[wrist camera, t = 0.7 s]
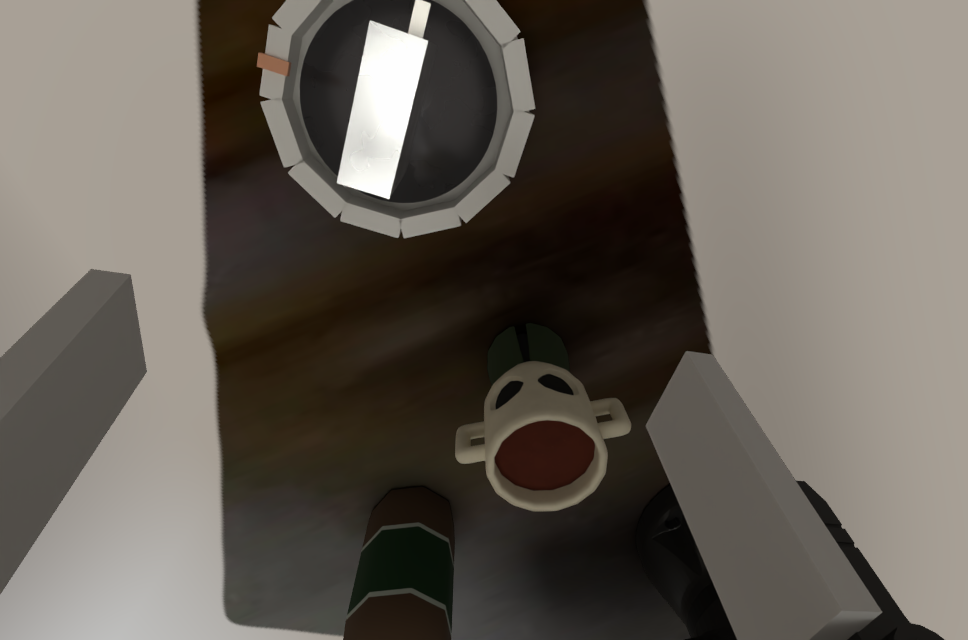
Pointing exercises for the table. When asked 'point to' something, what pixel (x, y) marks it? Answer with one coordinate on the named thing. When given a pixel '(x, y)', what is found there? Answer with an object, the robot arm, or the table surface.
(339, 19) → the dial
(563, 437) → the character mug
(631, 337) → the table surface
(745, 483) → the robot arm
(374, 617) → the beer bottle
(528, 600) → the table surface
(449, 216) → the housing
